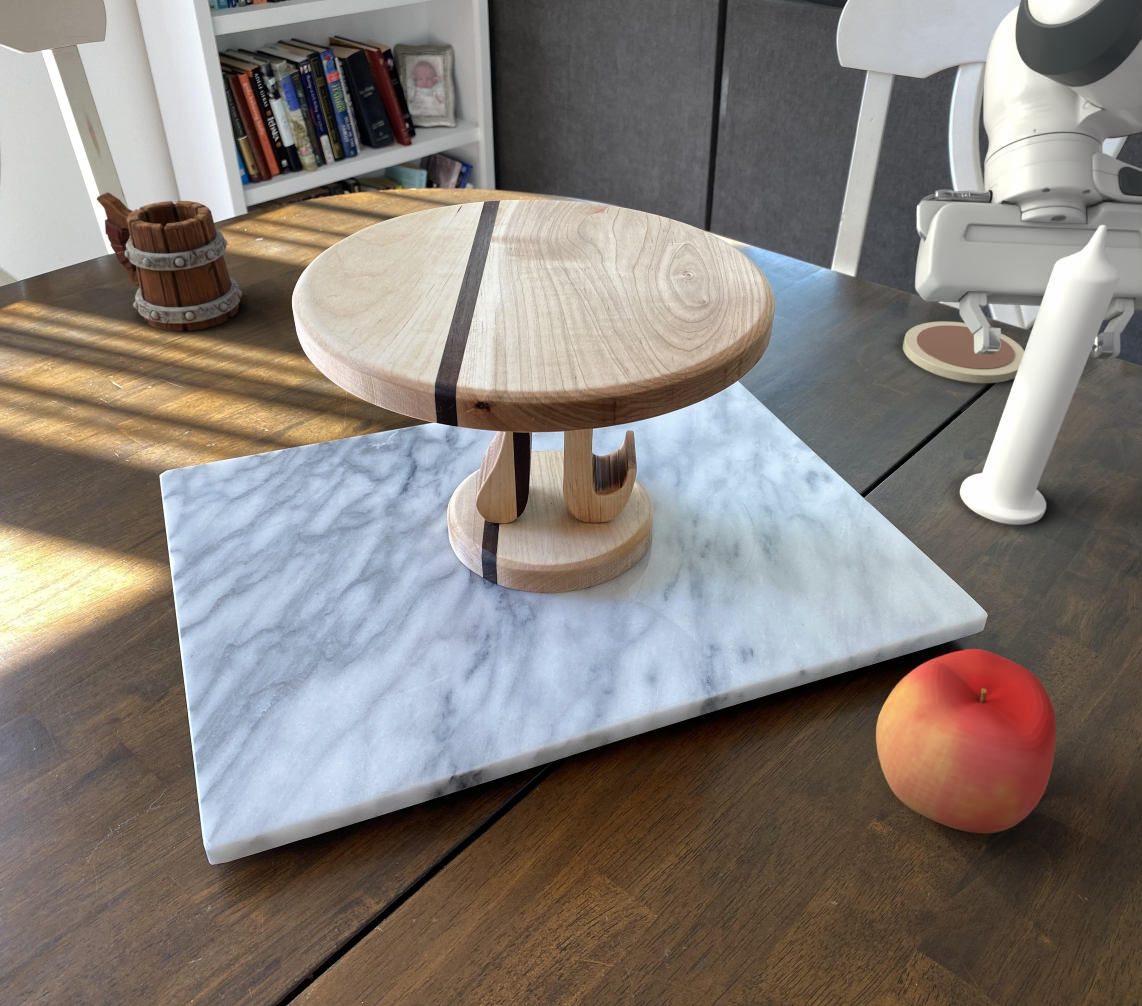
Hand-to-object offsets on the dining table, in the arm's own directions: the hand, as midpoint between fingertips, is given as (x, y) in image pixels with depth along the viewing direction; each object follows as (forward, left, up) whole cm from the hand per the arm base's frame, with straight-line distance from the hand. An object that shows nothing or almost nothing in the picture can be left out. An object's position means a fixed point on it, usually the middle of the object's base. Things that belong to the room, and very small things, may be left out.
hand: (1046, 354), depth 75 cm
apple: (+25, +25, -14) cm, 39 cm away
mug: (+67, -61, -14) cm, 92 cm away
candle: (0, +1, -14) cm, 14 cm away
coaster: (-15, -23, -14) cm, 30 cm away
